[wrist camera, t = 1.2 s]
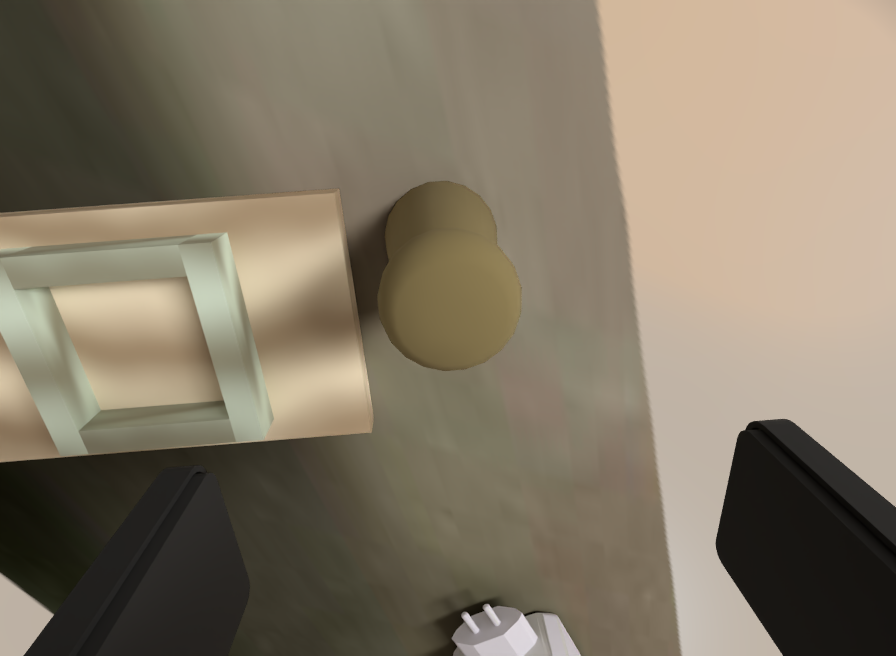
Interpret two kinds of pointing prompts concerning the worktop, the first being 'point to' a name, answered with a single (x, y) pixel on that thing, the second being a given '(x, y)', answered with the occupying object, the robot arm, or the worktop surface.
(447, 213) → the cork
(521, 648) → the charger
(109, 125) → the worktop surface
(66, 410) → the socket board
